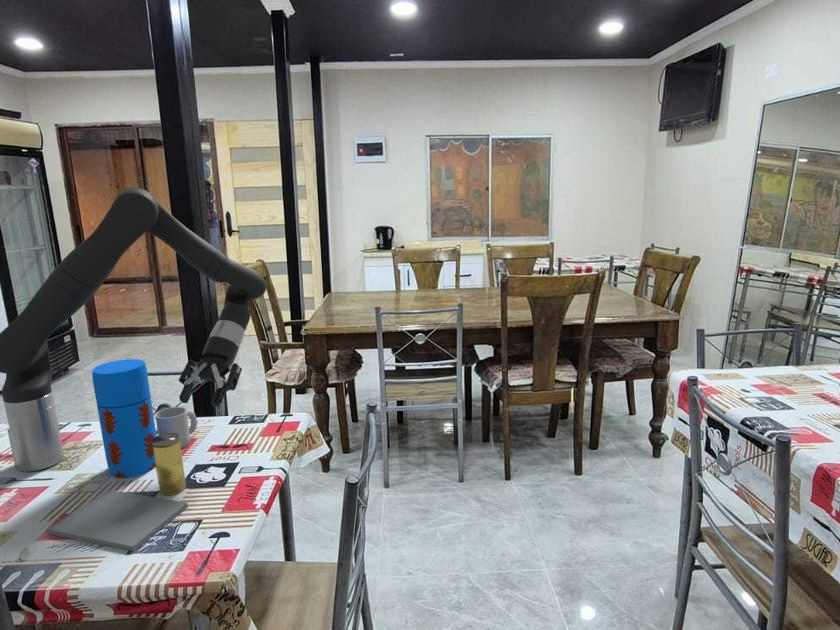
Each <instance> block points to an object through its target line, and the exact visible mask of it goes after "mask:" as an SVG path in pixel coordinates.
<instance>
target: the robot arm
mask: <svg viewBox="0 0 840 630" xmlns="http://www.w3.org/2000/svg"><path fill="white" fill-rule="evenodd" d="M145 233H149V234H151V235H152V236H154V237H156V238H157V239H159V240H160V241H162V242H163V243H164V244H166V245H167V246H169V247H170V248H171V249H172V250H173V251H174V252H175V253H176V254H177V255H179V256H180V257H181V258H182V259H183V260H184V261H185V262H186V263H187V264H189V266H192V268H194V269H195V270H197V271H198V272H199V273H201V274H202V275H204V276H205V277H207V278H208V279H210V280H211V281H213V282H215V283H217V284H221V283H225V284H226V283H227V284H228V285H229V286H228V288H227V290H226V293H225V297H224V303H223V308H222V310H221V312H220V314H219V317H218V318H217V319H218V320H217V322H216V323H215V324H214V326H213V328H212V330H211V332H210V334H209V337H208V339H207V341H206V344H205V346H204V349H203V350H202V353H201V355H202V358H201V359H200V361H194V360H193V359H189V360H188V361H187V362H186V364H185V367H184V368H183V371H182V372H181V375H180V376H179V378H178V382H180V384H182V385H183V387H182V390H181V392H180V395H179V401H180V402H181V403H183V404H188V402H189V400H190V398H191V396H192V394H193V391H194V389H195V388H196V387H197V386H198V385H200V384H202V383H204V382H213V383H216V384H217V387H218V388H215V392H214V394H213V395H212V396H213V397H212V399H211V402H210V403H211V405H212V406H213V407H217V408H218V407H219V406H220V405H221V404H222V403H223V400H224V397H225V395H226V393H227V392H229V391H235V390H236V388H237V385H238V383H239V380H240V377H241V374H242V370H243V368H241V366H240V365H239V364H238V363H236V362H235V359H236V358H237V355H238V352H239V349H240V348H241V344H242V342H243V340H244V335H245V332H246V330H247V327H248V324H249V322H250V320H251V319H250V318H251V316H252V315H251V314H252V313H251V311H250V309H249V306H250V304H251V302H253V301H254V300H257V299H259V298H261V297H262V296H263V295H265V293H266V292H267V283H266V281H265V279H264V277H263V276H262V275H261V274H260V273H259V272H258V271H256V270H254V269H252V268H250V267H248V266H247V265H244V264H242V263H240V262H237V261H234V260H232V259H231V258H229V257H228V256H227V255H225V254H224V253H223V252H221V251H220V250H219V249H217V248H216V247H214V246H213V245H212V244H211V243H209V242H208V241H206V240H205V239H203V238H202V237H201V236H200V235H197V234H196V233H195V232H193V231H192V230H191V229H189V228H187V227H186V226H185V225H184V224H183V223H182V222H180V221H179V220H178V219H177V218H175V217H174V215H172V214H171V213H170V212H169V211H168V210H167V209H166V208H165V207H164V206H163V205H162V204H160V202H159V201H158V200H157V199H156V197H154V195H153V194H152V193H151V192H149V191H148V190H146V189H144V188H140V187H129V188H125V189H123V190H121V191H120V192H119V193H118V194H117V195H116V196H115V198H114V200H113V202H112V204H111V206H110V207H109V210H108V211H107V212H106V214H105V216H104V217H103V219H102V220H101V221H100V223H99V224H98V225H97V227H96V228H95V230H93V232H92V233H91V234H90V235H89V236H88V237H87V238H86V239H85V240H83V241H82V242H81V243H80V244H79V245H77V246H76V247H75V248H73V249H72V250H71V251H70V252H69V253H68V254H66V256H65V257H64V258H63V259H62V260H61V261H60V262H59V264H58V265H57V266H56V267H55V268H54V269H53V271H52V272H51V273H50V275H49V276H48V277H47V279H45V281H44V282H43V283H42V285H41V286H40V287H39V289H38V290H37V291H36V293H35V294H34V295H33V296H32V298H31V300H30V301H29V302H28V304H27V305H26V307H25V308H24V309H23V310H22V311H21V312H20V313H19V315H18V316H16V318H15V319H14V320H12V322H11V323H10V324H9V325H7V326H6V327H5V328H4V329H3V330H2V331H1V332H0V373H1V374H6V375H5V381H4V383H3V386H2V389H1V396H2V401H3V406H4V410H5V415H6V419H7V423H8V429H7V434H8V439H9V443H10V449H11V453H12V457H13V459H12V460H13V462H14V466H15V467H17V469H18V470H19V471H21V472H25V473H26V472H35V471H36V472H37V471H40V470H44V469H47V468H50V467H53V466H55V465H57V464H59V463H60V462H61V461H62V460H64V458H65V454H64V448H63V443H62V436H61V432H60V431H61V430H60V426H59V421H58V417H57V411H56V404H55V400H54V396H53V391H52V381H53V370H52V365H51V364H52V363H51V356H50V351H49V350H50V349H49V345H48V342H47V341H48V339H49V338H50V336H51V335H52V334H53V333H54V332H55V331H56V330H57V329H58V328H59V327H60V326H61V325H63V324H64V323H65V322H67V320H69V319H70V318H71V317H72V316H74V315H75V314H76V313H77V312H78V311H79V310H80V309H81V308H82V307H83V306H84V305H86V303H87V302H88V301H90V299H91V298H92V297H93V296H94V295H95V293H97V291H98V290H99V289H100V287H102V285H103V284H104V282H106V280H107V278H108V277H109V276H110V275H111V273H112V271H113V270H114V269H115V267H116V265H117V264H118V262H119V261H120V259H121V258H122V257H123V255H124V254H125V253H126V251H127V250H128V249H130V247H132V245H133V244H135V242H136V241H138V240H139V239H140V238H141V237H142V236H143V235H144V234H145ZM227 374H228V375H227ZM226 375H227V376H228V377H226Z"/></svg>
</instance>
